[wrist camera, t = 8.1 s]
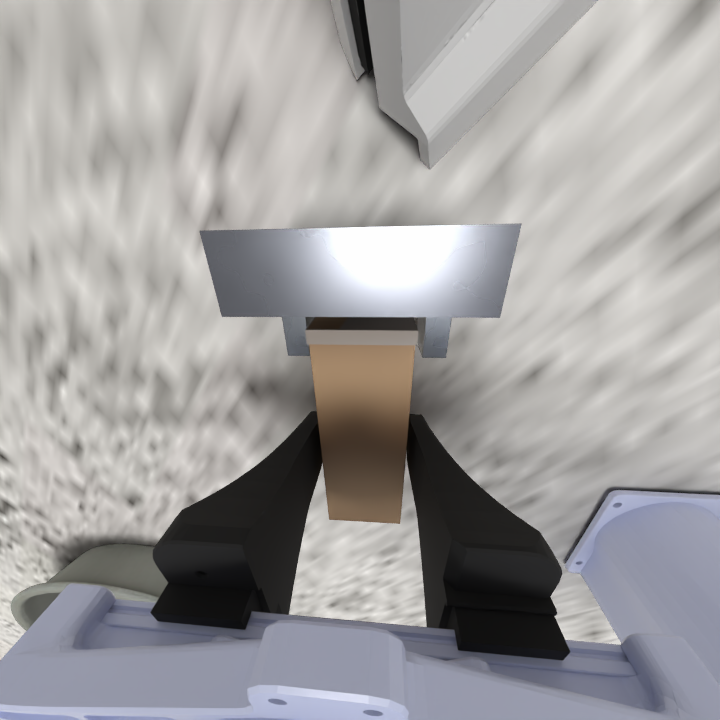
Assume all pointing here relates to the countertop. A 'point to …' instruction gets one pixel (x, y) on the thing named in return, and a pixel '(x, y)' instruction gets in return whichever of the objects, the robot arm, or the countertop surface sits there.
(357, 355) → the block
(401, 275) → the grey metal bench
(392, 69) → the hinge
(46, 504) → the countertop surface
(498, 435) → the countertop surface
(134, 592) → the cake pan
